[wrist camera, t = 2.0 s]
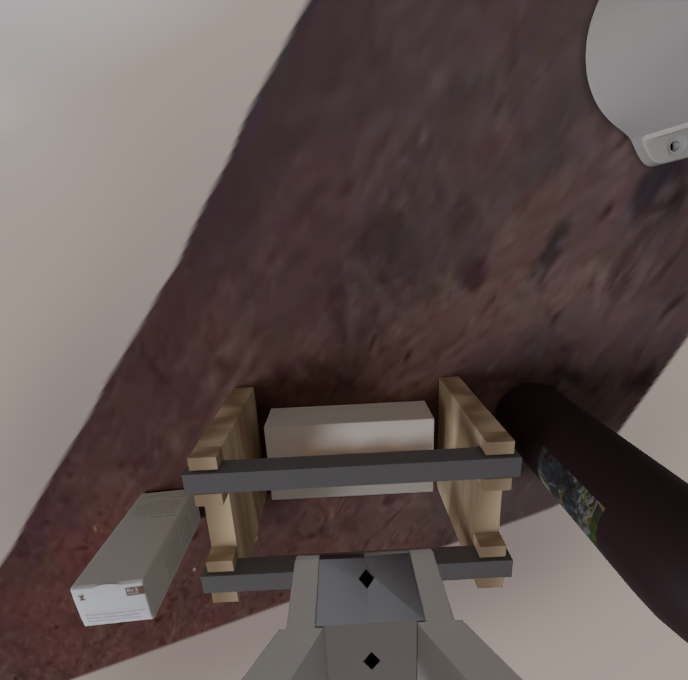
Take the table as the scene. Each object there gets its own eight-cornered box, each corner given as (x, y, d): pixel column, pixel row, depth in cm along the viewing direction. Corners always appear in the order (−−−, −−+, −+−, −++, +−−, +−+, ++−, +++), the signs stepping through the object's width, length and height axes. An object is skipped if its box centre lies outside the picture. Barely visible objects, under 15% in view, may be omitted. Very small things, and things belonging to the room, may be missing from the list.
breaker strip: (424, 400, 39) (434, 418, 35) (423, 467, 41) (432, 491, 37) (271, 408, 39) (263, 427, 35) (278, 475, 41) (272, 499, 37)
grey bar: (503, 543, 30) (512, 560, 29) (502, 559, 31) (511, 576, 29) (207, 559, 30) (200, 577, 29) (210, 575, 31) (203, 593, 29)
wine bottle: (486, 395, 39) (910, 846, 10) (552, 371, 39) (1199, 777, 10) (504, 451, 41) (907, 967, 12) (567, 428, 40) (1150, 915, 11)
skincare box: (151, 523, 43) (81, 632, 31) (141, 489, 41) (64, 589, 30) (204, 518, 43) (155, 624, 31) (196, 484, 41) (141, 582, 30)
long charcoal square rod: (512, 445, 28) (522, 457, 26) (510, 463, 28) (520, 476, 27) (190, 462, 28) (181, 475, 26) (193, 480, 28) (185, 494, 27)
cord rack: (458, 376, 39) (515, 441, 26) (454, 485, 42) (502, 586, 30) (234, 388, 38) (187, 458, 26) (249, 496, 42) (213, 602, 30)
